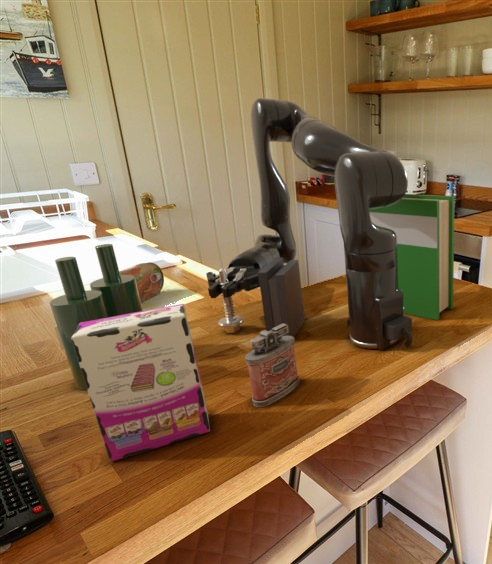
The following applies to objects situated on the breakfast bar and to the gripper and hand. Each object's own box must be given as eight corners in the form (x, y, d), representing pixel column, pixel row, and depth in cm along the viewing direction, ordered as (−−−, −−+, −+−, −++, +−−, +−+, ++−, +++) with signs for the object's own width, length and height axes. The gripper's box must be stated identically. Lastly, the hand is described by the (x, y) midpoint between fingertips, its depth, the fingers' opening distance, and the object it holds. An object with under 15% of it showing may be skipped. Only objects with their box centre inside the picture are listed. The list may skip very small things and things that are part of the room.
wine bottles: (124, 346, 78) (97, 241, 72) (159, 346, 78) (135, 240, 72) (63, 390, 65) (22, 265, 58) (105, 390, 65) (69, 264, 58)
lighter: (263, 409, 59) (253, 345, 55) (247, 402, 60) (236, 339, 57) (304, 382, 65) (297, 322, 62) (289, 376, 67) (281, 318, 63)
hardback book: (453, 308, 92) (454, 196, 84) (437, 320, 86) (437, 201, 78) (385, 294, 101) (381, 192, 93) (367, 304, 95) (361, 197, 87)
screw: (240, 323, 87) (248, 331, 83) (216, 330, 84) (223, 338, 81) (230, 263, 83) (238, 268, 79) (204, 267, 80) (211, 273, 77)
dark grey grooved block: (304, 319, 88) (297, 257, 84) (291, 341, 79) (283, 272, 74) (283, 320, 88) (275, 257, 84) (267, 341, 79) (257, 272, 74)
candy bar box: (208, 412, 58) (185, 301, 53) (211, 433, 54) (187, 315, 49) (112, 439, 54) (77, 320, 48) (108, 464, 49) (68, 336, 44)
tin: (120, 312, 95) (111, 276, 92) (108, 311, 96) (99, 276, 93) (167, 290, 109) (161, 258, 106) (157, 289, 110) (150, 258, 107)
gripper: (219, 251, 94) (178, 274, 77) (280, 249, 93) (252, 273, 77) (225, 283, 96) (185, 312, 80) (284, 282, 95) (257, 311, 79)
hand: (218, 293), depth 78 cm, fingers closed on screw, 2 cm apart
